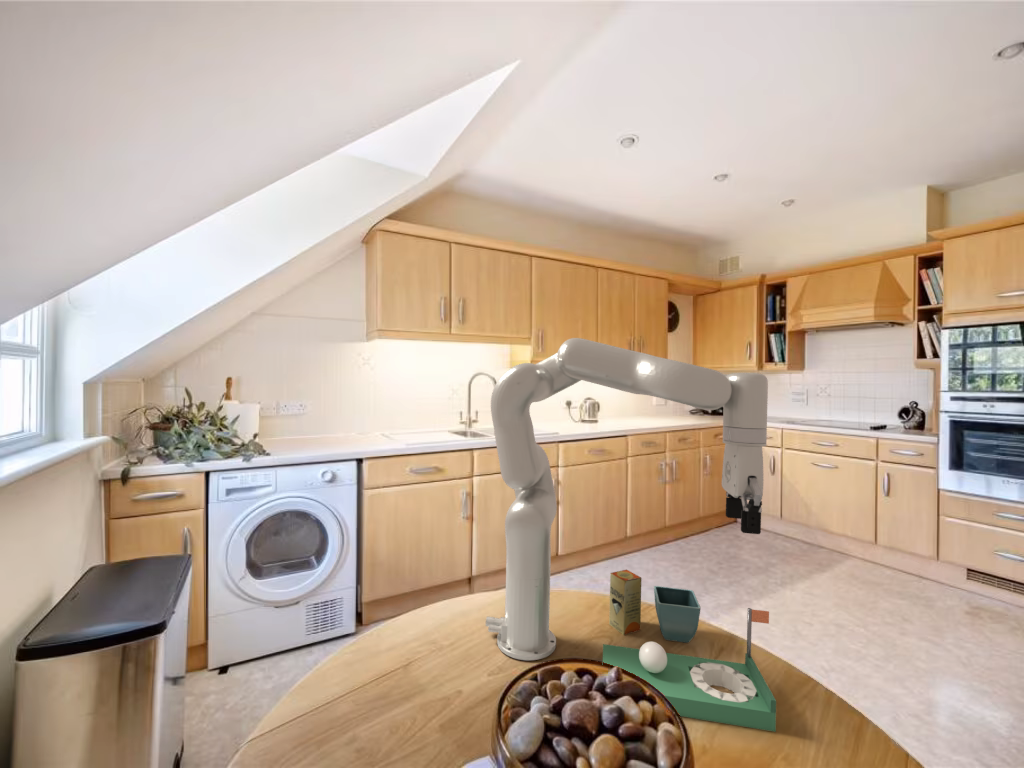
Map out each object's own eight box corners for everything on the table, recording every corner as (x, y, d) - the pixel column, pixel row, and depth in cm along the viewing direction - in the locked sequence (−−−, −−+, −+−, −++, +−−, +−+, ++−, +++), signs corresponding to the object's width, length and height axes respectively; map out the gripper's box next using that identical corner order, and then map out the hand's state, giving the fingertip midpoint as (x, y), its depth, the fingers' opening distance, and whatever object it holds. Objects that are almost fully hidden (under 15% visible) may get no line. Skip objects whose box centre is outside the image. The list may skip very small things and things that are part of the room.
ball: (639, 677, 80) (640, 649, 80) (637, 660, 85) (638, 634, 85) (668, 681, 79) (669, 653, 79) (664, 664, 84) (665, 638, 84)
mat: (602, 703, 77) (603, 674, 77) (602, 658, 90) (603, 634, 90) (775, 731, 71) (776, 700, 72) (749, 680, 84) (749, 653, 84)
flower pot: (700, 650, 94) (701, 608, 94) (657, 644, 95) (658, 602, 95) (692, 628, 102) (693, 589, 102) (652, 623, 104) (653, 585, 104)
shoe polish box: (623, 635, 99) (624, 581, 99) (609, 624, 103) (610, 572, 103) (640, 630, 101) (641, 577, 101) (625, 619, 105) (626, 569, 105)
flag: (746, 684, 83) (748, 609, 83) (745, 681, 84) (747, 607, 84) (768, 687, 82) (769, 611, 82) (766, 684, 83) (768, 610, 83)
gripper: (712, 431, 95) (710, 511, 94) (737, 440, 78) (734, 538, 78) (750, 433, 93) (748, 514, 93) (783, 443, 76) (781, 542, 76)
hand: (742, 525), depth 85 cm, fingers open, 9 cm apart
